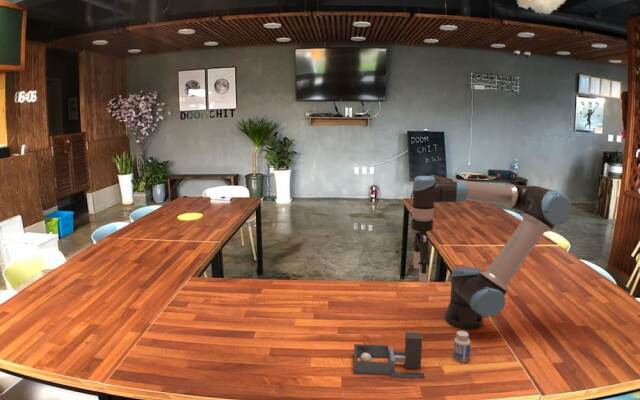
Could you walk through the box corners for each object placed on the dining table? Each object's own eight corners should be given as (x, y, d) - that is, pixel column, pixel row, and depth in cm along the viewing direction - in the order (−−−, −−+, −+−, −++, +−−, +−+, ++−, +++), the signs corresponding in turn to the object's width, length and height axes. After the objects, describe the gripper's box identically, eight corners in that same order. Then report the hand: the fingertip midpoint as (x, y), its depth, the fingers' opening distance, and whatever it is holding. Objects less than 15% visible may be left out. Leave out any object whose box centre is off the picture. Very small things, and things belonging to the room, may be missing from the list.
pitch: (418, 355, 159) (418, 345, 159) (424, 378, 146) (424, 367, 145) (353, 352, 161) (354, 342, 160) (354, 375, 147) (354, 364, 146)
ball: (363, 362, 156) (373, 357, 155) (364, 369, 152) (374, 363, 151) (357, 353, 155) (367, 348, 155) (357, 360, 152) (367, 354, 151)
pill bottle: (466, 354, 160) (467, 329, 158) (471, 362, 155) (473, 337, 153) (451, 354, 160) (452, 329, 158) (456, 363, 155) (457, 337, 153)
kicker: (417, 358, 157) (419, 329, 155) (421, 372, 148) (423, 342, 146) (388, 357, 158) (389, 328, 155) (390, 371, 149) (392, 341, 147)
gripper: (407, 211, 173) (405, 263, 177) (417, 227, 149) (414, 286, 153) (427, 211, 173) (424, 263, 177) (439, 227, 148) (436, 287, 152)
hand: (419, 274), depth 165 cm, fingers open, 13 cm apart
